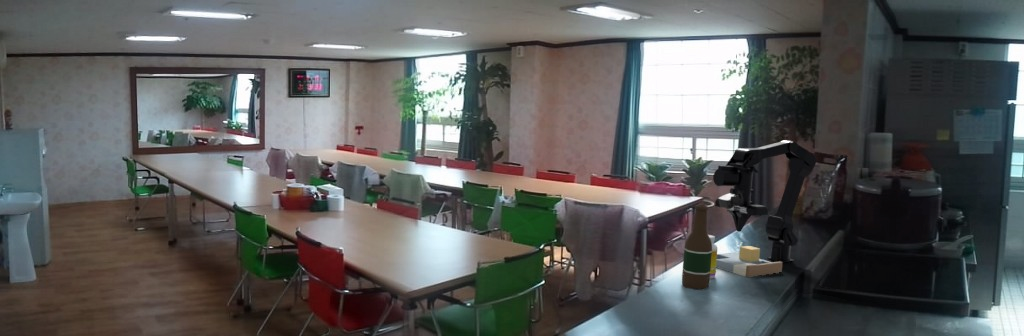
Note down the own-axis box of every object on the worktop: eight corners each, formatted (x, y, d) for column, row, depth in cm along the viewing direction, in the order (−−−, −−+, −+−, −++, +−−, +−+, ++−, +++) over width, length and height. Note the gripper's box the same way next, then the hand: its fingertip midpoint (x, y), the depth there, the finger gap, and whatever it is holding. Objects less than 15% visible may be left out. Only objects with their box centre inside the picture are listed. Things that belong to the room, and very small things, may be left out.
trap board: (735, 259, 231) (736, 249, 231) (781, 272, 215) (782, 262, 214) (702, 262, 223) (703, 252, 223) (748, 277, 207) (749, 266, 206)
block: (748, 257, 223) (749, 245, 223) (759, 260, 220) (760, 248, 219) (738, 258, 221) (740, 246, 221) (749, 261, 217) (750, 249, 217)
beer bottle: (709, 284, 196) (716, 204, 194) (708, 291, 189) (715, 208, 186) (682, 281, 199) (688, 202, 196) (680, 287, 191) (686, 205, 189)
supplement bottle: (712, 274, 208) (716, 234, 207) (717, 280, 202) (720, 238, 200) (691, 272, 209) (694, 233, 207) (694, 278, 202) (698, 237, 201)
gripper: (704, 182, 228) (701, 227, 229) (745, 190, 211) (741, 238, 213) (729, 182, 233) (725, 225, 234) (771, 189, 216) (766, 236, 218)
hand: (738, 231), depth 225 cm, fingers closed
